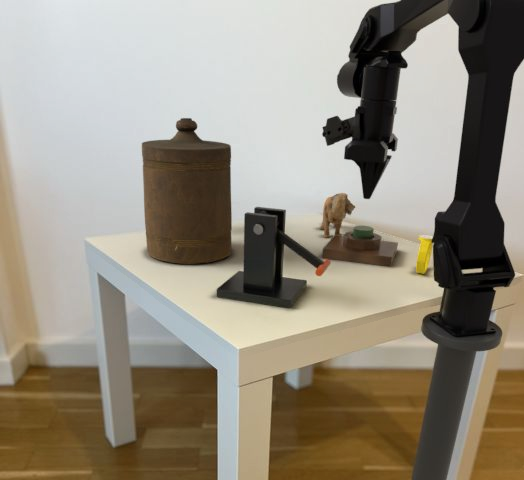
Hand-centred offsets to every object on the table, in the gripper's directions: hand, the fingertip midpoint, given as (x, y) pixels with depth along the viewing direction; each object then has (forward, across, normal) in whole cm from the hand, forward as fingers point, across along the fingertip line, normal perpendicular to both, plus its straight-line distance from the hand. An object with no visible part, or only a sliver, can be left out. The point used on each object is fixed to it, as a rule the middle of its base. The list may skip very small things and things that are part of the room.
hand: (366, 198), depth 95 cm
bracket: (+10, +26, -10) cm, 29 cm away
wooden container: (+10, +12, -29) cm, 33 cm away
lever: (+3, +25, -7) cm, 27 cm away
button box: (+10, 0, 0) cm, 10 cm away
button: (+7, 0, 0) cm, 7 cm away
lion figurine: (+10, -13, -8) cm, 18 cm away
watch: (+10, +6, +11) cm, 16 cm away
